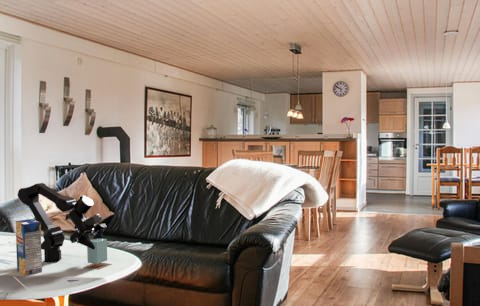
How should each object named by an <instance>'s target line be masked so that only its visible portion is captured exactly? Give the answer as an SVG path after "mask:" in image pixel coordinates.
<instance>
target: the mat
mask: <svg viewBox="0 0 480 306" xmlns="http://www.w3.org/2000/svg"><path fill="white" fill-rule="evenodd" d="M77 281H79V279H67V282H69V283H72V282H77Z"/></svg>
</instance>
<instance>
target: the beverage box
mask: <svg viewBox="0 0 480 306" xmlns="http://www.w3.org/2000/svg"><path fill="white" fill-rule="evenodd" d="M41 229H42V228H41V222H38V221H37V219H33V218H28V219H21V220H15V245H16V269H17V270H16V271H17V272H18V273H20V274H23V275H24V276H29V275H33V274H39V273H43V258H42V256H43V255H42V249H41V244H42V231H41Z"/></svg>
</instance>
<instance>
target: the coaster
mask: <svg viewBox="0 0 480 306" xmlns="http://www.w3.org/2000/svg"><path fill="white" fill-rule="evenodd" d="M111 265H113V263H107V262H101V266H98V267H95V266H94V263H89V264H88V265H85V266H83V268H84V269H92V270H101V269H104V268H106V267H109V266H111Z"/></svg>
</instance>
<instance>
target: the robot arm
mask: <svg viewBox="0 0 480 306" xmlns="http://www.w3.org/2000/svg"><path fill="white" fill-rule="evenodd" d="M40 195H41V196H42V197H44V198H46V199H48V200H49V201H50V202H52V203H53V204H55V207H56V208H57V209H58V210H59V211H61V212H62V213H65V212H69V213H66V214H65V221H67V220H68V221H69V220H70V221H71V222H72V223H73V225H74V226H73V229H74V231H73V233H72V234H71V235H70V236H69V241H70V242H71V243H72V244H74V243H77V244H79V245H81V246H82V245H83V246H84V247H89V248H91V249H93V250H94V249H95V247H94V245H93V243H92V242H91V240H92V239H96V238H101V239H105V237H104V235H103V234H104V231H105V230H106V229H107V227H108V226H107V225H106V223H103V222H102V223H101V220H102V216H101V215H100V213H96V214H94V215H93V216H90V217H86V215H85V214H87V213H88V212H89V211H90V210H91V209H92V207H93V206H94V204H95V203H94V200H93V199H92V198H90V197H88V196H86V195H85V194H82V195H80V196H79V198H78V200H76V198H74V197H71V196H69V195H63V194H61V193H59V192H57V191H56V190H54V189H52V188H51V187H50V186H48V185H46V183H43V182H40V183H34V184H33V185H31V186H27V187H23V188H21V187H20V189H18V191H17V197H18V199H19V200H20V201H21V203H22V204H24V205H25V206H27V207H28V208H29V209H30V211H31V212H32V214H33V216H34V218H35V220H36V221H38V222H41V229H42V231H43V236H42V237H43V241H41V250H43V252H44V260H42V263H58V262H59V261H61V260H62V249H61V247H63V245H64V243H65V242H64V241H65V232H64V231H63V229H62V227H61V226H55V225H54V224H53V222H52V221H51V219H50V218H49V216H48V214H47V213H46V211H45V209H44V208H43V206H42V204H41V203H40ZM97 223H98V224H97ZM96 224H97V225H96ZM91 234H92V235H93V238H92V239H90V236H89V235H91Z"/></svg>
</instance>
